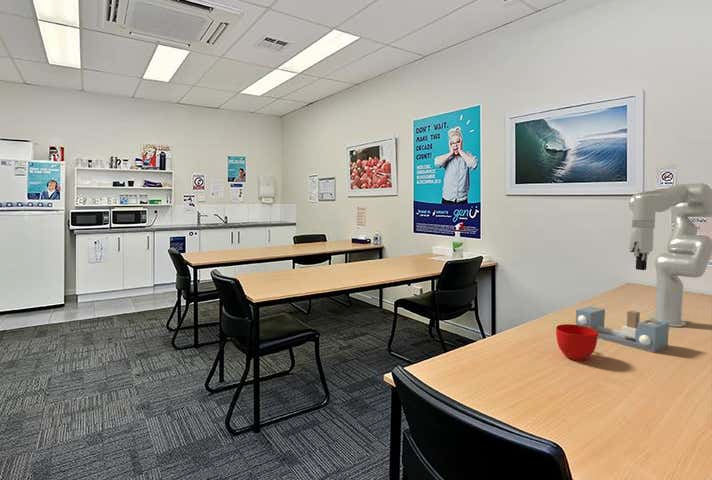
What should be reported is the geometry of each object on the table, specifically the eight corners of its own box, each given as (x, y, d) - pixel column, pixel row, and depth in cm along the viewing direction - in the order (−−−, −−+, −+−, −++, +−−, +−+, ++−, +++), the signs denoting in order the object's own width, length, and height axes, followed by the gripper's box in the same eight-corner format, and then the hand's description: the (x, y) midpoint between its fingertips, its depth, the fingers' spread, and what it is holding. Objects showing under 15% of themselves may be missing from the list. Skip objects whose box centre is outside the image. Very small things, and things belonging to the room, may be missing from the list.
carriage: (629, 333, 161) (631, 309, 160) (643, 337, 157) (645, 311, 156) (620, 336, 158) (622, 311, 157) (635, 340, 153) (636, 314, 152)
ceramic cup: (589, 349, 151) (590, 323, 150) (600, 366, 135) (602, 337, 134) (551, 345, 155) (552, 320, 154) (557, 361, 139) (558, 333, 138)
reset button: (649, 329, 154) (649, 321, 153) (660, 331, 151) (660, 324, 150) (644, 331, 152) (645, 323, 152) (656, 333, 149) (656, 325, 148)
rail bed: (589, 327, 177) (590, 306, 176) (667, 347, 152) (669, 322, 151) (574, 332, 171) (575, 310, 170) (653, 353, 146) (654, 327, 145)
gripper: (641, 223, 171) (639, 266, 172) (623, 225, 163) (621, 270, 164) (662, 224, 164) (659, 269, 166) (645, 225, 156) (642, 272, 158)
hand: (640, 269), depth 165 cm, fingers closed
